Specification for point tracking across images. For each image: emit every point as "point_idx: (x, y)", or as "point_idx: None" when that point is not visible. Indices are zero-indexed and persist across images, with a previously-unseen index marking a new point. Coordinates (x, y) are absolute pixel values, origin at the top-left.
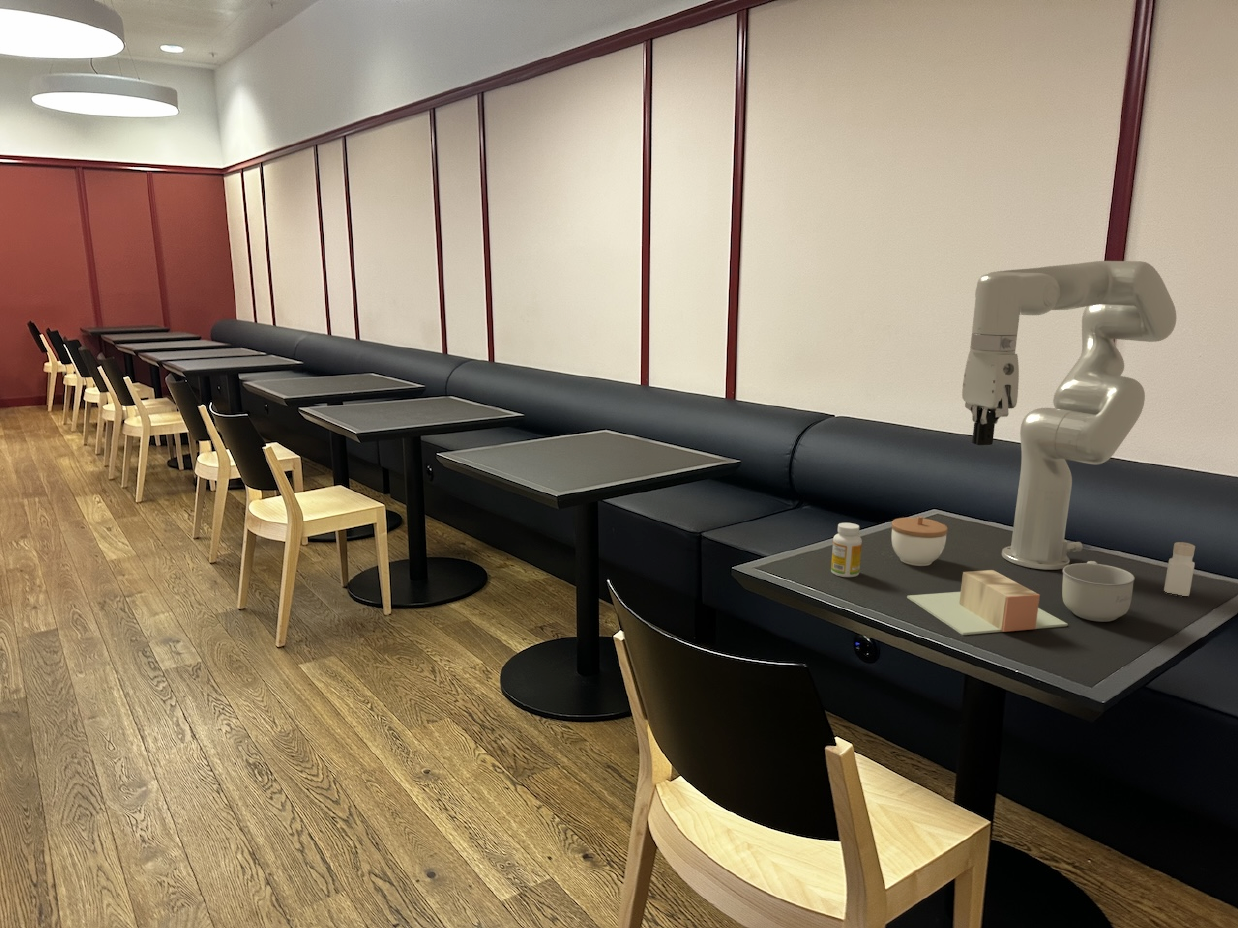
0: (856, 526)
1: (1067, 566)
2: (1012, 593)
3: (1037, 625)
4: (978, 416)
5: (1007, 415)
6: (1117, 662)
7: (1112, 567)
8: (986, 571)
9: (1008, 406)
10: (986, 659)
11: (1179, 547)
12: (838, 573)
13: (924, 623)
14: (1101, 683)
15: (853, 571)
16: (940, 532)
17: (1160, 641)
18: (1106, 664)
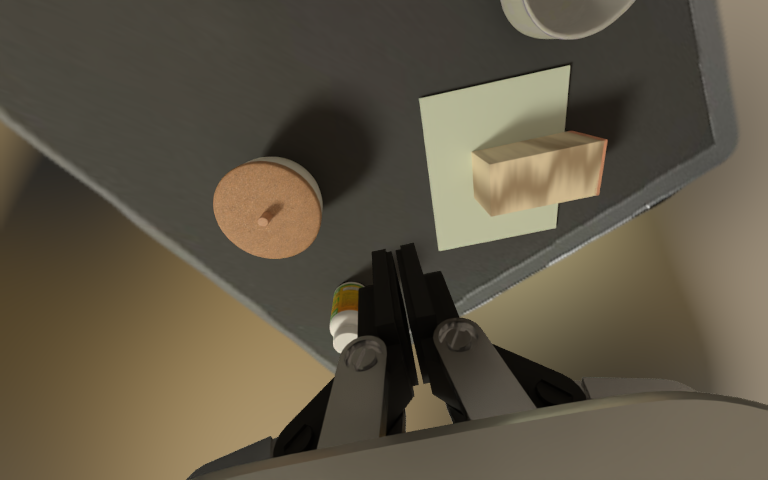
0: (353, 336)
1: (528, 3)
2: (588, 181)
3: (563, 120)
4: (402, 423)
5: (686, 389)
6: (687, 62)
7: None
8: (494, 178)
9: (624, 414)
10: (614, 225)
11: None
12: None
13: (514, 254)
14: (714, 125)
15: None
16: (311, 191)
17: None
18: (684, 84)
